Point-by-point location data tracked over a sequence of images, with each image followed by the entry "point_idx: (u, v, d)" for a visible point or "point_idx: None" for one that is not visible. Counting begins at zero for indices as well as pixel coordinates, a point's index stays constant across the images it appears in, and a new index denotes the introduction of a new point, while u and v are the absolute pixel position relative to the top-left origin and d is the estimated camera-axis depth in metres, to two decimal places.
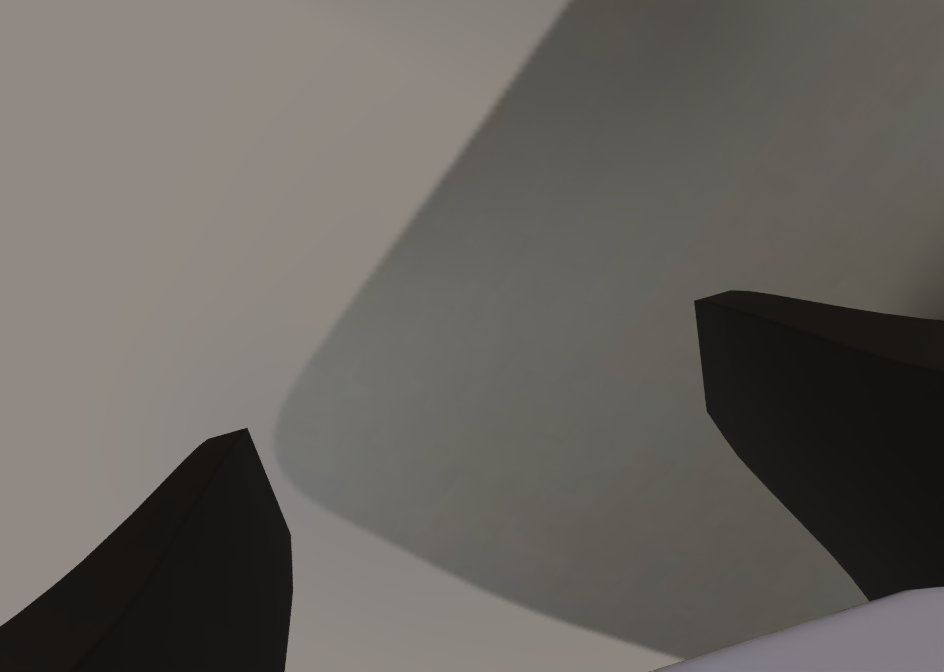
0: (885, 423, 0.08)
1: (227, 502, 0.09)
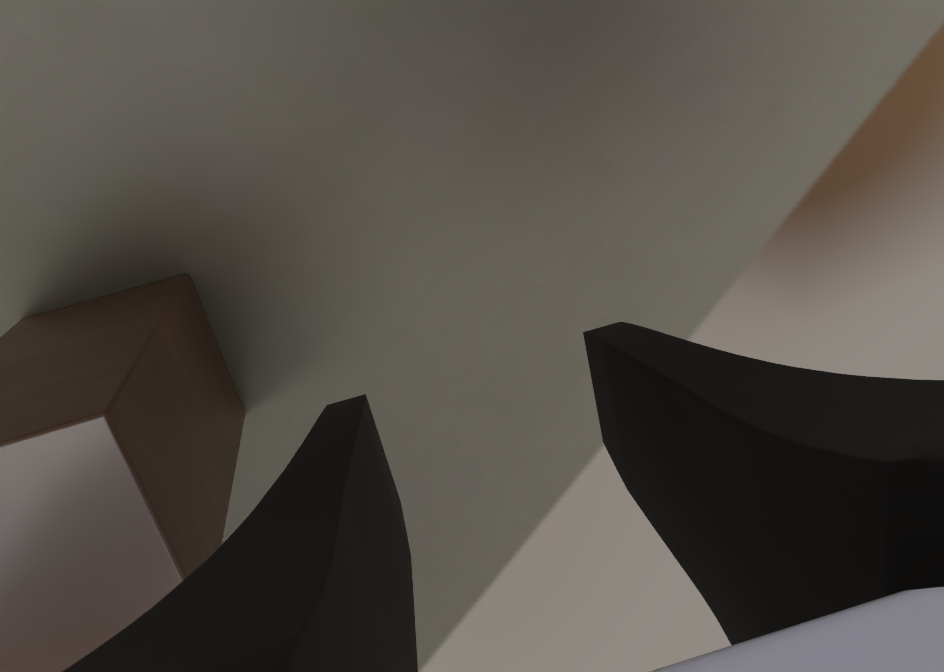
0: (723, 472, 0.08)
1: (366, 462, 0.10)
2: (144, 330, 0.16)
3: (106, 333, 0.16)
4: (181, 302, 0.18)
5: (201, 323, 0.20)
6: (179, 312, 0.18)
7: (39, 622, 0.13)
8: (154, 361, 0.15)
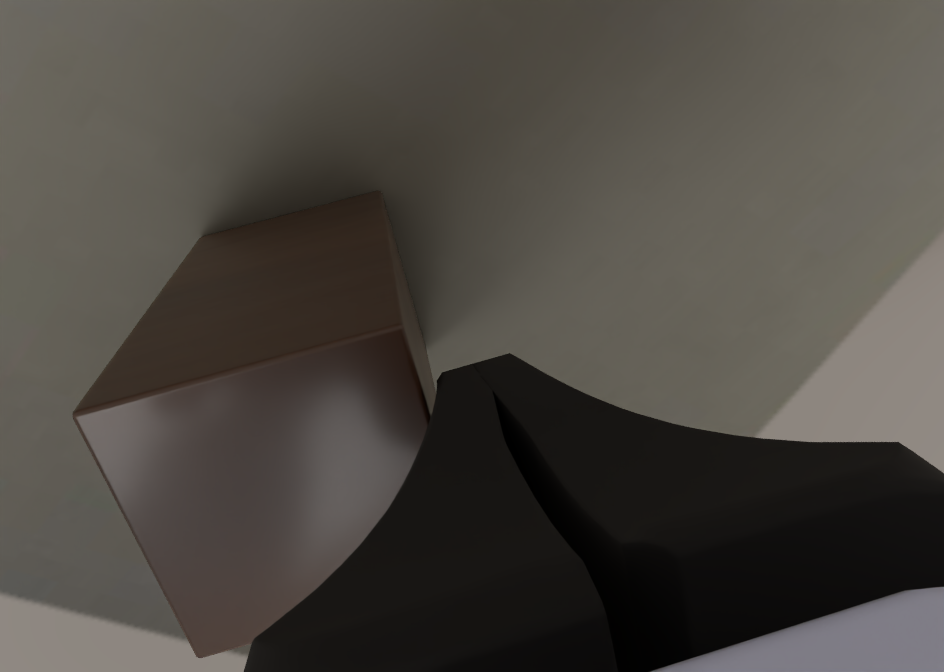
0: (558, 521, 0.08)
1: (500, 423, 0.10)
2: (375, 243, 0.14)
3: (326, 247, 0.14)
4: (387, 219, 0.16)
5: (395, 246, 0.18)
6: (389, 229, 0.16)
7: (299, 568, 0.11)
8: (397, 277, 0.13)
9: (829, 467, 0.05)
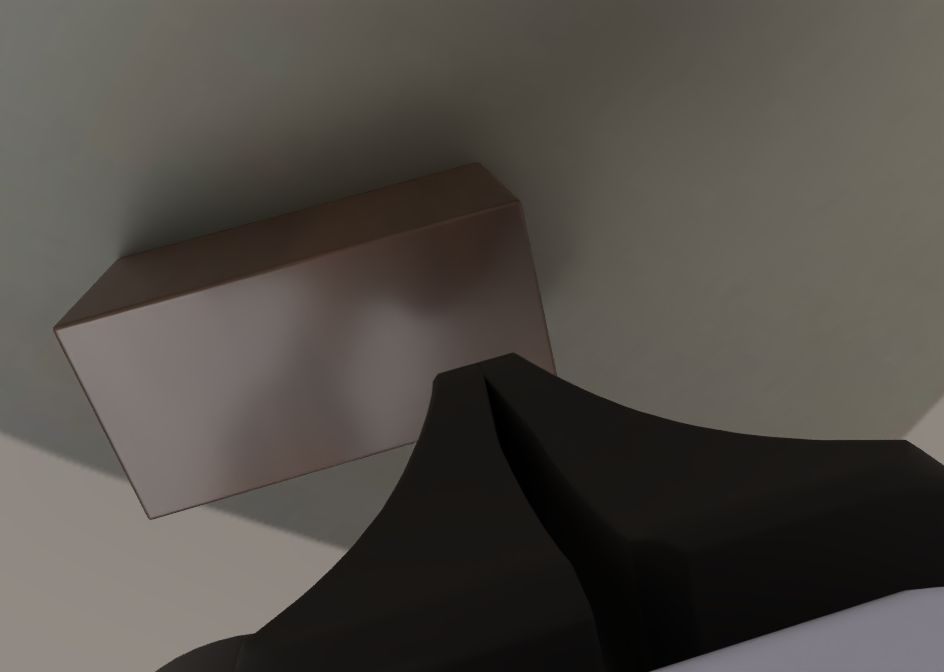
0: (564, 519, 0.08)
1: (495, 425, 0.10)
2: (279, 261, 0.14)
3: (314, 239, 0.15)
4: (423, 240, 0.14)
5: (492, 271, 0.15)
6: (396, 253, 0.14)
7: None
8: (229, 300, 0.14)
9: (838, 465, 0.05)
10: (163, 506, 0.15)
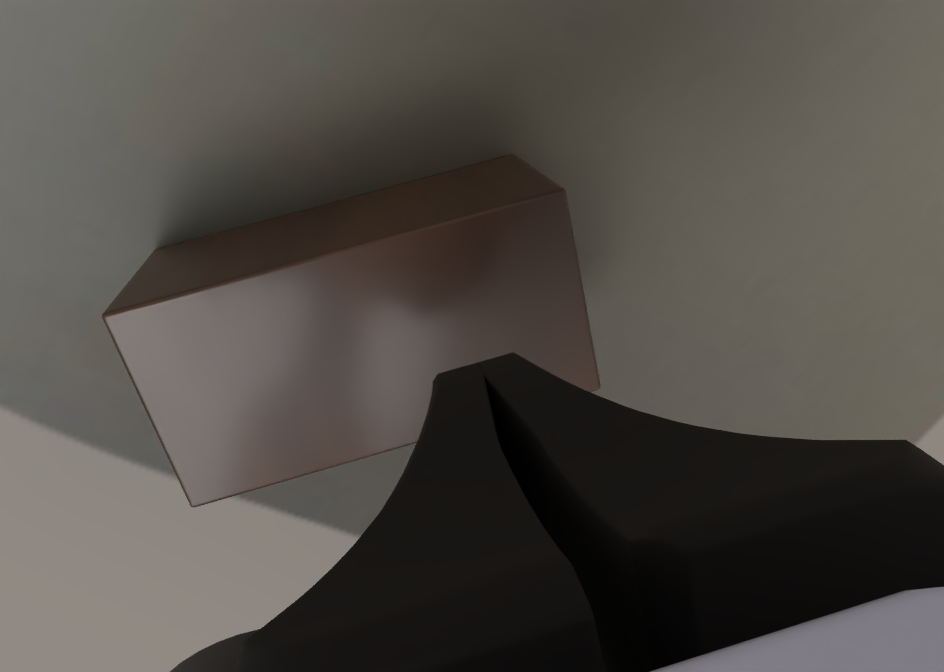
0: (564, 520, 0.08)
1: (495, 424, 0.10)
2: (326, 250, 0.14)
3: (357, 228, 0.15)
4: (468, 229, 0.14)
5: (535, 260, 0.15)
6: (442, 241, 0.14)
7: None
8: (277, 288, 0.14)
9: (837, 465, 0.05)
10: (206, 494, 0.15)
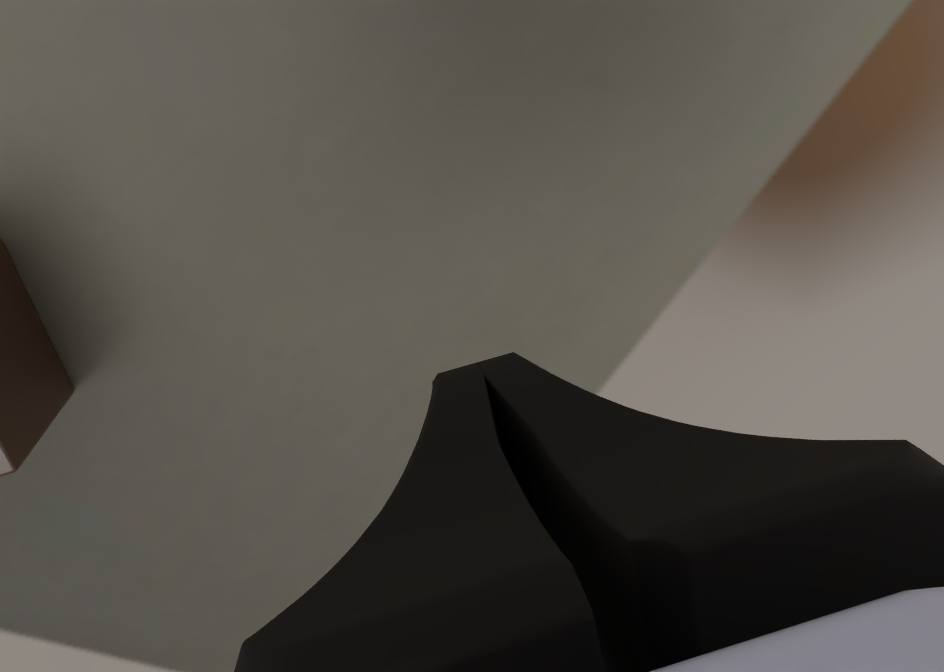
0: (564, 520, 0.08)
1: (495, 424, 0.10)
2: None
3: None
4: None
5: None
6: None
7: None
8: None
9: (837, 465, 0.05)
10: None
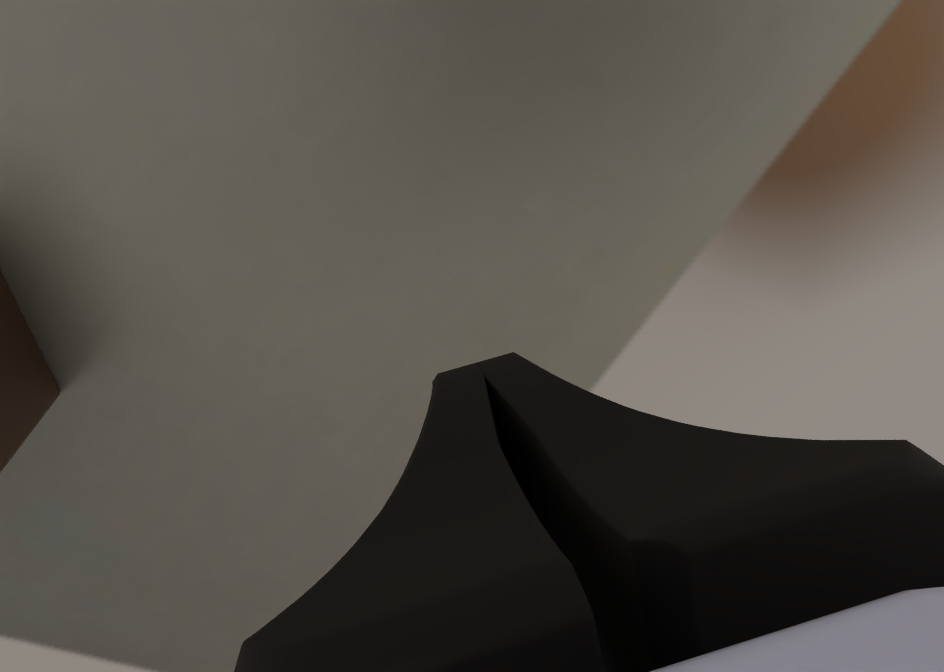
0: (564, 519, 0.08)
1: (495, 424, 0.10)
2: None
3: None
4: None
5: None
6: None
7: None
8: None
9: (837, 465, 0.05)
10: None
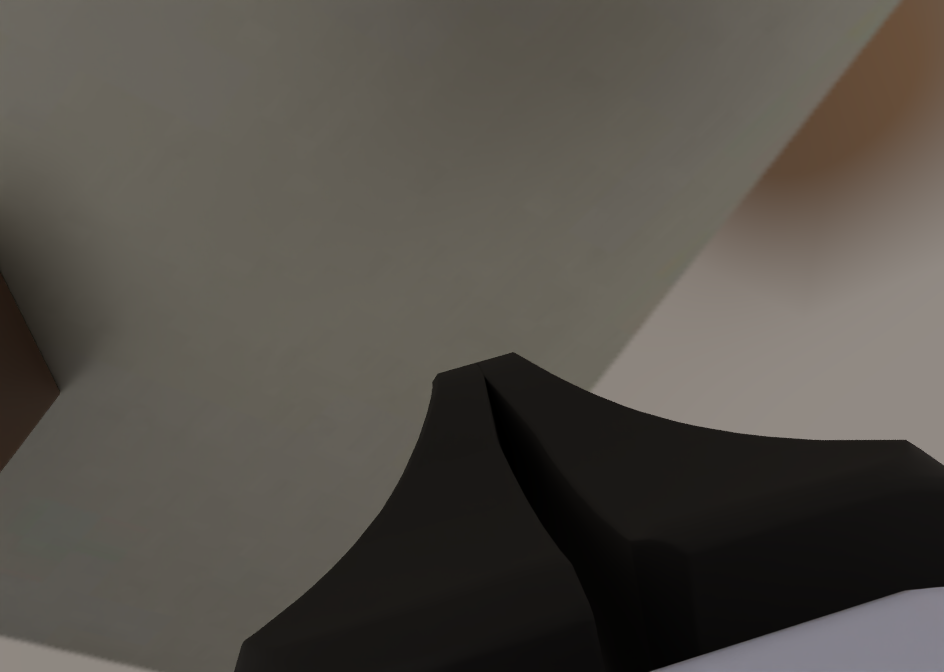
0: (564, 519, 0.08)
1: (495, 424, 0.10)
2: None
3: None
4: None
5: None
6: None
7: None
8: None
9: (837, 465, 0.05)
10: None
